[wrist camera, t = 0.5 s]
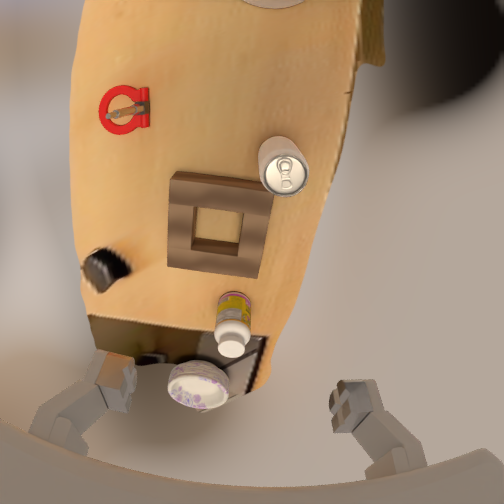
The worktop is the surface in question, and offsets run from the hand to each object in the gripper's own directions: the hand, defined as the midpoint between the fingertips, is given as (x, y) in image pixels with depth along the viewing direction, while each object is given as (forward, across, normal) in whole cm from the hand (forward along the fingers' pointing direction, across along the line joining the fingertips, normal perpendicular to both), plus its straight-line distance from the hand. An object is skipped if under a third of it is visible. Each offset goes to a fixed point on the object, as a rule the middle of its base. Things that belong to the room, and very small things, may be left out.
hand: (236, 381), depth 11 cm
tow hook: (+42, +21, -5) cm, 47 cm away
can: (+41, -5, 0) cm, 42 cm away
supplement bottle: (+41, -2, +31) cm, 52 cm away
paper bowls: (+41, +4, +56) cm, 70 cm away
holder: (+41, +3, +13) cm, 43 cm away
